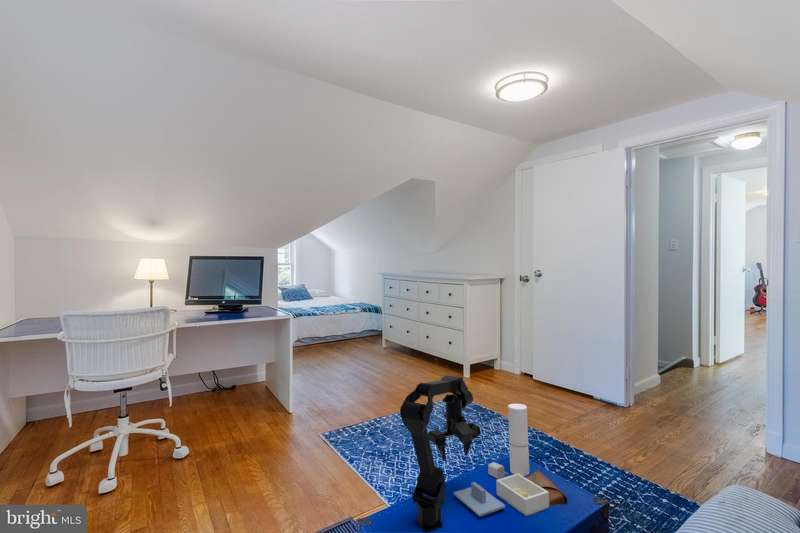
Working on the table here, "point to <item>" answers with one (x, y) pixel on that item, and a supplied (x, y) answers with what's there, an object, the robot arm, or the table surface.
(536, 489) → the tub
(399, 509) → the table surface
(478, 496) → the lid
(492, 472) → the usb wall charger
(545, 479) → the sunglasses case
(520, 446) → the cylindrical container
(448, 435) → the robot arm
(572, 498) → the table surface
